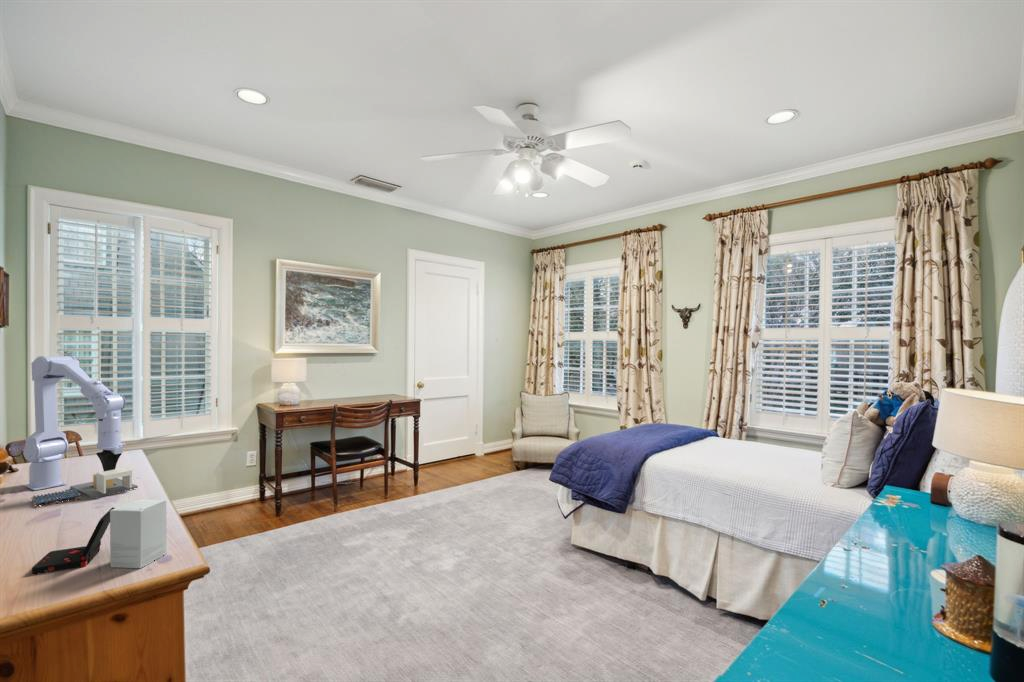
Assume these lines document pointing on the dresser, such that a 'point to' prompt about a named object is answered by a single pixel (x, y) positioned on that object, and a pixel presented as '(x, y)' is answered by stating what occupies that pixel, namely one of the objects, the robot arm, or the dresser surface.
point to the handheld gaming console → (74, 552)
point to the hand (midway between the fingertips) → (109, 473)
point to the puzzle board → (92, 493)
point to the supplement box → (137, 533)
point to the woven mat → (55, 498)
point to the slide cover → (112, 474)
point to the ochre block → (108, 482)
